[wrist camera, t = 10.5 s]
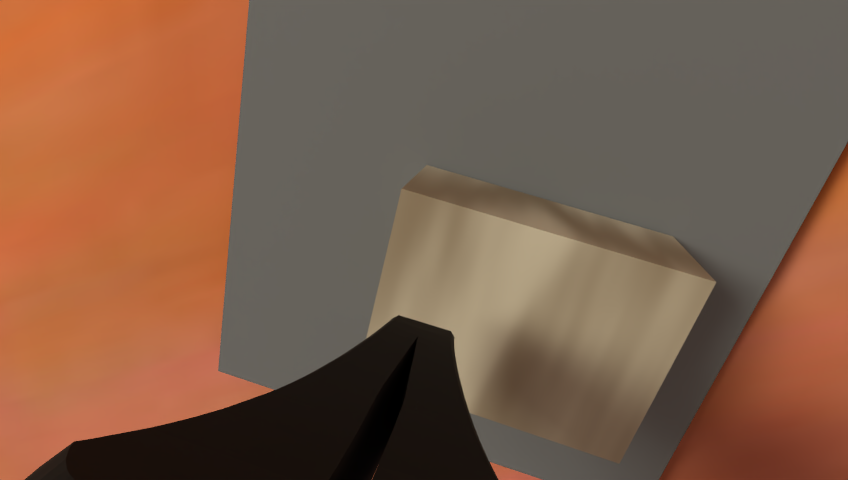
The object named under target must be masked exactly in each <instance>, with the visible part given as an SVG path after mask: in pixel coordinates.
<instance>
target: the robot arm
mask: <svg viewBox="0 0 848 480" xmlns="http://www.w3.org/2000/svg"><path fill="white" fill-rule="evenodd" d="M376 469H377V470H376ZM375 471H376V472H375ZM374 473H375V474H374ZM373 475H374V477H373ZM372 478H373V479H372ZM25 480H498V478H497V476H496V474H495V472H494V470H493V468H492V466H491V464H490V462H489V460H488V458H487V456H486V453H485V451H484V449H483V447H482V444H481V442H480V440H479V437H478V435H477V432H476V429H475V427H474V424H473V421H472V418H471V415H470V413H469V410H468V407H467V403H466V400H465V397H464V393H463V389H462V385H461V381H460V378H459V373H458V369H457V363H456V357H455V349H454V335H453V334H452V332H451V331H449V330H446V329H443V328H439V327H436V326H433V325H429V324H426V323H423V322H420V321H416V320H413V319H410V318H407V317H403V316H400V315H398V316H396V317H394V318H392V319H391V320H390V321H389V322H388V323H386V324H385V325H384V326H383V327H381V328H380V329H379V330H377V331H376V332H375V333H373V334H372V335H371V336H369V337H368V338H367V339H365V340H364V341H362V342H361V343H359V344H358V345H356V346H355V347H353V348H352V349H350V350H349V351H347V352H346V353H344V354H343V355H341V356H340V357H338V358H336V359H334V360H333V361H331V362H329V363H327V364H326V365H324V366H322V367H321V368H319V369H317V370H315V371H314V372H312V373H310V374H308V375H306V376H304V377H302V378H300V379H298V380H296V381H294V382H292V383H290V384H287V385H285V386H283V387H281V388H279V389H276V390H274V391H272V392H269V393H266V394H264V395H261V396H258V397H255V398H252V399H250V400H247V401H244V402H241V403H238V404H236V405H233V406H230V407H227V408H224V409H221V410H217V411H214V412H211V413H207V414H204V415H200V416H197V417H193V418H189V419H185V420H181V421H177V422H173V423H169V424H165V425H161V426H156V427H152V428H147V429H142V430H136V431H131V432H126V433H120V434H115V435H110V436H104V437H99V438H94V439H88V440H81V441H75V442H73V443H72V444H70V445H69V446H68V447H66V448H65V449H64V450H62V451H61V452H59V453H58V454H57V455H55V456H54V457H53V458H51V459H50V460H49V461H47V462H46V463H44V464H43V465H42V466H40V467H39V468H38V469H37V470H36V471H34V472H33V473H32V474H31V475H30V476H28V477H27V478H26V479H25Z"/></svg>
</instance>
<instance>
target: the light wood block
mask: <svg viewBox="0 0 848 480" xmlns="http://www.w3.org/2000/svg"><path fill="white" fill-rule="evenodd" d="M715 284H716V281H715V280H714V279H713V278H712V277H711V276H710V275H709V274H708V273H707V272H706V271H705V270H704V268H703V267H702V266H701V265H700V264H699V263H698V262H697V261H696V260H695V259H694V258H693V257H692V256H691V255H690V254H689V253H688V252H687V251H686V250H685V248H684V247H683V246H682V245H681V244H680V243H679V242H678V241H677V240H676V239H675V238H674V237H673V236H670V235H667V234H663V233H660V232H656V231H653V230H649V229H646V228H642V227H639V226H636V225H632V224H629V223H625V222H622V221H618V220H615V219H611V218H608V217H605V216H601V215H598V214H594V213H591V212H587V211H584V210H580V209H577V208H574V207H570V206H567V205H563V204H560V203H556V202H553V201H549V200H546V199H543V198H539V197H536V196H532V195H529V194H525V193H522V192H518V191H515V190H512V189H508V188H505V187H501V186H498V185H494V184H491V183H487V182H484V181H481V180H477V179H474V178H470V177H467V176H463V175H460V174H456V173H453V172H449V171H446V170H443V169H439V168H436V167H432V166H429V165H426V166H425V167H424V168H423V169H422V170H421V171H420V172H419V173H418V174H417V175H416V176H415V177H413V178H412V179H411V180H410V181H409V182H408V183H407V184H406V185H405V186H404V187H403V188H402V189H401V193H400V197H399V202H398V206H397V210H396V214H395V219H394V223H393V227H392V231H391V236H390V240H389V244H388V248H387V252H386V257H385V261H384V265H383V269H382V274H381V278H380V282H379V286H378V290H377V295H376V299H375V303H374V307H373V312H372V316H371V320H370V324H369V328H368V333H367V337H366V339H367V338H368V337H369V336H371V335H372V334H373V333H375V332H376V331H377V330H379V329H380V328H381V327H383V326H384V325H385V324H386V323H388V322H389V321H390V320H391V319H392V318H394V317H396V316H398V315H400V316H403V317H407V318H410V319H413V320H416V321H420V322H423V323H426V324H429V325H433V326H436V327H439V328H443V329H446V330H449V331H451V332H452V334H453V335H454V349H455V357H456V363H457V369H458V373H459V378H460V381H461V385H462V389H463V393H464V397H465V400H466V403H467V407H468V410H469V413H471V414H474V415H477V416H480V417H483V418H486V419H489V420H492V421H495V422H498V423H501V424H504V425H507V426H509V427H512V428H515V429H518V430H521V431H524V432H527V433H530V434H533V435H536V436H539V437H542V438H545V439H548V440H551V441H554V442H557V443H560V444H563V445H565V446H568V447H571V448H574V449H577V450H580V451H583V452H586V453H589V454H592V455H595V456H598V457H601V458H604V459H607V460H610V461H613V462H616V463H618V464H619V463H620V462H621V460H622V458H623V456H624V454H625V452H626V450H627V448H628V447H629V445H630V443H631V441H632V439H633V437H634V435H635V433H636V432H637V430H638V428H639V426H640V424H641V422H642V420H643V418H644V417H645V415H646V413H647V411H648V409H649V407H650V405H651V404H652V402H653V400H654V398H655V396H656V394H657V392H658V390H659V389H660V387H661V385H662V383H663V381H664V379H665V377H666V375H667V374H668V372H669V370H670V368H671V366H672V364H673V362H674V360H675V359H676V357H677V355H678V353H679V351H680V349H681V347H682V346H683V344H684V342H685V340H686V338H687V336H688V334H689V332H690V331H691V329H692V327H693V325H694V323H695V321H696V319H697V317H698V316H699V314H700V312H701V310H702V308H703V306H704V304H705V302H706V301H707V299H708V297H709V295H710V293H711V291H712V289H713V288H714V286H715Z"/></svg>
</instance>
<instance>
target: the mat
mask: <svg viewBox="0 0 848 480" xmlns="http://www.w3.org/2000/svg"><path fill="white" fill-rule="evenodd" d="M847 142H848V0H249V10H248V22H247V34H246V46H245V58H244V70H243V82H242V94H241V106H240V118H239V130H238V142H237V154H236V166H235V178H234V189H233V201H232V213H231V225H230V237H229V249H228V261H227V273H226V285H225V297H224V309H223V321H222V333H221V345H220V357H219V369H218V371H220V372H223V373H226V374H229V375H232V376H235V377H238V378H241V379H244V380H247V381H250V382H253V383H256V384H259V385H262V386H265V387H268V388H271V389H274V390H276V389H279V388H281V387H283V386H285V385H287V384H290V383H292V382H294V381H296V380H298V379H300V378H302V377H304V376H306V375H308V374H310V373H312V372H314V371H315V370H317V369H319V368H321V367H322V366H324V365H326V364H327V363H329V362H331V361H333V360H334V359H336V358H338V357H340V356H341V355H343V354H344V353H346V352H347V351H349V350H350V349H352V348H353V347H355V346H356V345H358V344H359V343H361V342H362V341H364V340H365V339H366V337H367V333H368V328H369V324H370V320H371V316H372V312H373V307H374V303H375V299H376V295H377V290H378V286H379V282H380V278H381V274H382V269H383V265H384V261H385V257H386V252H387V248H388V244H389V240H390V236H391V231H392V227H393V223H394V219H395V214H396V210H397V206H398V202H399V197H400V193H401V189H402V188H403V187H404V186H405V185H406V184H407V183H408V182H409V181H410V180H411V179H412V178H413V177H415V176H416V175H417V174H418V173H419V172H420V171H421V170H422V169H423V168H424V167H425V166H426V165H429V166H432V167H436V168H439V169H443V170H446V171H449V172H453V173H456V174H460V175H463V176H467V177H470V178H474V179H477V180H481V181H484V182H487V183H491V184H494V185H498V186H501V187H505V188H508V189H512V190H515V191H518V192H522V193H525V194H529V195H532V196H536V197H539V198H543V199H546V200H549V201H553V202H556V203H560V204H563V205H567V206H570V207H574V208H577V209H580V210H584V211H587V212H591V213H594V214H598V215H601V216H605V217H608V218H611V219H615V220H618V221H622V222H625V223H629V224H632V225H636V226H639V227H642V228H646V229H649V230H653V231H656V232H660V233H663V234H667V235H670V236H673V237H674V238H675V239H676V240H677V241H678V242H679V243H680V244H681V245H682V246H683V247H684V248H685V250H686V251H687V252H688V253H689V254H690V255H691V256H692V257H693V258H694V259H695V260H696V261H697V262H698V263H699V264H700V265H701V266H702V267H703V268H704V270H705V271H706V272H707V273H708V274H709V275H710V276H711V277H712V278H713V279H714V280H715V281H716V284H715V286H714V288H713V289H712V291H711V293H710V295H709V297H708V299H707V301H706V302H705V304H704V306H703V308H702V310H701V312H700V314H699V316H698V317H697V319H696V321H695V323H694V325H693V327H692V329H691V331H690V332H689V334H688V336H687V338H686V340H685V342H684V344H683V346H682V347H681V349H680V351H679V353H678V355H677V357H676V359H675V360H674V362H673V364H672V366H671V368H670V370H669V372H668V374H667V375H666V377H665V379H664V381H663V383H662V385H661V387H660V389H659V390H658V392H657V394H656V396H655V398H654V400H653V402H652V404H651V405H650V407H649V409H648V411H647V413H646V415H645V417H644V418H643V420H642V422H641V424H640V426H639V428H638V430H637V432H636V433H635V435H634V437H633V439H632V441H631V443H630V445H629V447H628V448H627V450H626V452H625V454H624V456H623V458H622V460H621V462H620V463H619V464H618V463H616V462H613V461H610V460H607V459H604V458H601V457H598V456H595V455H592V454H589V453H586V452H583V451H580V450H577V449H574V448H571V447H568V446H565V445H563V444H560V443H557V442H554V441H551V440H548V439H545V438H542V437H539V436H536V435H533V434H530V433H527V432H524V431H521V430H518V429H515V428H512V427H509V426H507V425H504V424H501V423H498V422H495V421H492V420H489V419H486V418H483V417H480V416H477V415H474V414H471V413H470V415H471V418H472V421H473V424H474V427H475V429H476V432H477V435H478V437H479V440H480V442H481V444H482V447H483V449H484V451H485V453H486V456H487V458H488V460H489V462H492V463H495V464H498V465H501V466H504V467H507V468H510V469H513V470H516V471H519V472H522V473H525V474H528V475H531V476H534V477H537V478H540V479H543V480H659V478H660V477H661V475H662V473H663V471H664V469H665V468H666V466H667V464H668V462H669V460H670V459H671V457H672V455H673V453H674V452H675V450H676V448H677V446H678V444H679V443H680V441H681V439H682V437H683V435H684V434H685V432H686V430H687V428H688V427H689V425H690V423H691V421H692V419H693V418H694V416H695V414H696V412H697V410H698V409H699V407H700V405H701V403H702V402H703V400H704V398H705V396H706V394H707V393H708V391H709V389H710V387H711V385H712V384H713V382H714V380H715V378H716V376H717V375H718V373H719V371H720V369H721V368H722V366H723V364H724V362H725V360H726V359H727V357H728V355H729V353H730V351H731V350H732V348H733V346H734V344H735V343H736V341H737V339H738V337H739V335H740V334H741V332H742V330H743V328H744V326H745V325H746V323H747V321H748V319H749V318H750V316H751V314H752V312H753V310H754V309H755V307H756V305H757V303H758V301H759V300H760V298H761V296H762V294H763V292H764V291H765V289H766V287H767V285H768V284H769V282H770V280H771V278H772V276H773V275H774V273H775V271H776V269H777V267H778V266H779V264H780V262H781V260H782V259H783V257H784V255H785V253H786V251H787V250H788V248H789V246H790V244H791V242H792V241H793V239H794V237H795V235H796V234H797V232H798V230H799V228H800V226H801V225H802V223H803V221H804V219H805V217H806V216H807V214H808V212H809V210H810V208H811V207H812V205H813V203H814V201H815V200H816V198H817V196H818V194H819V192H820V191H821V189H822V187H823V185H824V183H825V182H826V180H827V178H828V176H829V175H830V173H831V171H832V169H833V167H834V166H835V164H836V162H837V160H838V158H839V157H840V155H841V153H842V151H843V150H844V148H845V146H846V144H847Z"/></svg>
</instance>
